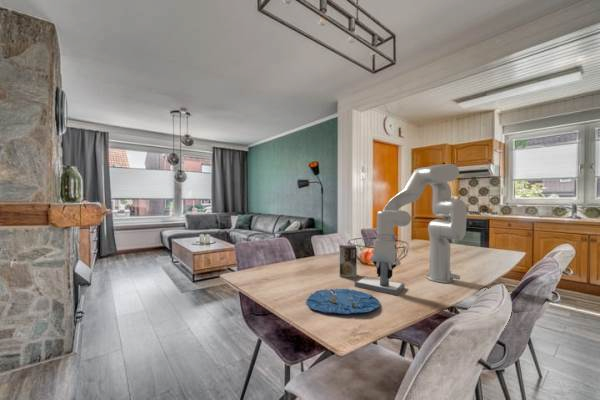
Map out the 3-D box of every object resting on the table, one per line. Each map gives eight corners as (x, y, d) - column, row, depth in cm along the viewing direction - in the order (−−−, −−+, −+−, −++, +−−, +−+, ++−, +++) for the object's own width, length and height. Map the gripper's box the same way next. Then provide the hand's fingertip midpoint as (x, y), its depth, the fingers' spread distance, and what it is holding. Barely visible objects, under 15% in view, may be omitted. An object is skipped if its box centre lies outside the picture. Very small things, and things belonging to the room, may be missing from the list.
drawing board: (404, 287, 123) (404, 283, 123) (397, 295, 113) (397, 290, 113) (363, 279, 134) (363, 275, 134) (354, 286, 124) (354, 282, 124)
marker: (390, 284, 120) (390, 254, 120) (387, 287, 117) (388, 256, 116) (381, 282, 122) (381, 253, 122) (378, 285, 119) (378, 254, 119)
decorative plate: (292, 300, 111) (291, 288, 111) (346, 288, 125) (346, 277, 125) (333, 328, 85) (333, 312, 85) (396, 308, 100) (396, 295, 100)
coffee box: (355, 274, 144) (355, 245, 144) (356, 277, 138) (357, 247, 138) (338, 273, 145) (339, 244, 145) (339, 277, 139) (339, 247, 138)
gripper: (406, 238, 118) (405, 278, 118) (370, 234, 127) (369, 272, 127) (402, 240, 112) (401, 282, 112) (364, 236, 121) (364, 275, 121)
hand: (384, 276), depth 120 cm, fingers closed on marker, 4 cm apart
